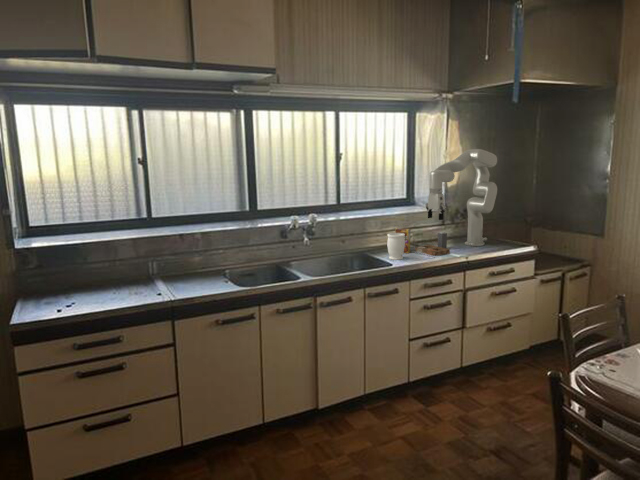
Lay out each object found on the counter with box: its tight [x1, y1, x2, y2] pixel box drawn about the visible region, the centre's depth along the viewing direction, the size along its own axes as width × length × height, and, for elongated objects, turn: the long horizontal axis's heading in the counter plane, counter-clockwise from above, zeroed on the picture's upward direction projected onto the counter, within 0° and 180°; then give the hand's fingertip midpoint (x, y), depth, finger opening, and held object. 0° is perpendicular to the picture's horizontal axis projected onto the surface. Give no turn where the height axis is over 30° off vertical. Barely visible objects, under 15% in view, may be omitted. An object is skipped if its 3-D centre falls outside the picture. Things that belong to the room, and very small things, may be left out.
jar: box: [386, 232, 405, 261], centre depth 293 cm, size 11×10×15 cm
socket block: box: [414, 244, 451, 259], centre depth 303 cm, size 12×18×4 cm
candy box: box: [394, 227, 411, 254], centre depth 309 cm, size 9×4×15 cm, turn 60°
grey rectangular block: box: [437, 231, 448, 249], centre depth 312 cm, size 4×4×11 cm
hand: (435, 218), depth 302 cm, fingers open, 9 cm apart
